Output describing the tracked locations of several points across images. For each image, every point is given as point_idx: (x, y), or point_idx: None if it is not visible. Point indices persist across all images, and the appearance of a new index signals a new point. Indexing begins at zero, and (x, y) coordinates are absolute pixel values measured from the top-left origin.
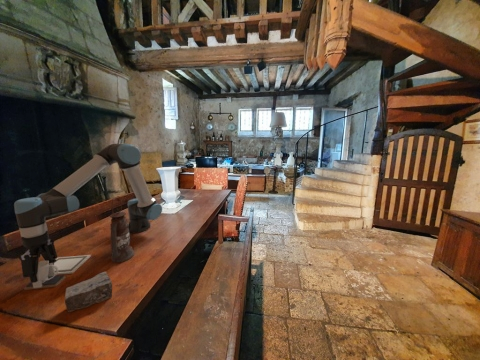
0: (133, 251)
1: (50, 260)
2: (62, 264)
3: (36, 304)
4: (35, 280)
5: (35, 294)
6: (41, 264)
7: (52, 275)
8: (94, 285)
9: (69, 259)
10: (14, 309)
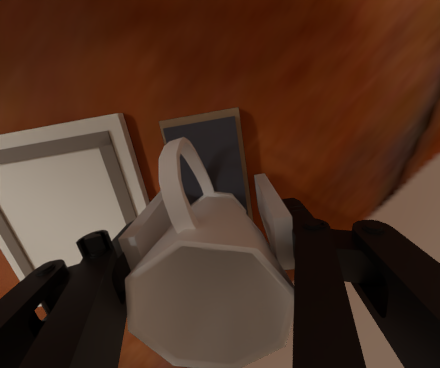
0: None
1: (111, 272)
2: (73, 238)
3: (371, 89)
4: (295, 203)
5: (291, 169)
6: (161, 304)
7: None
8: None
9: (27, 239)
10: (382, 172)
